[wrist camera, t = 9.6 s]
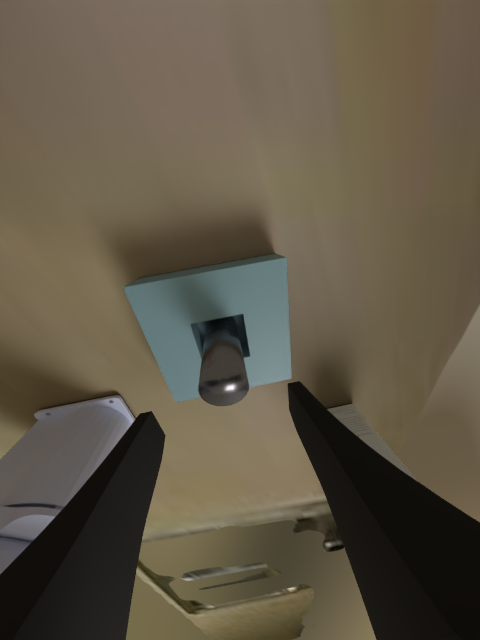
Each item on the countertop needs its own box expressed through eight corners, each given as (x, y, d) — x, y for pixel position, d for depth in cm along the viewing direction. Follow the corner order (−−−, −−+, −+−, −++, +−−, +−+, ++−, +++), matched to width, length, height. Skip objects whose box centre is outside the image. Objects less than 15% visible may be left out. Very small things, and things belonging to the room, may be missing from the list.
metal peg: (211, 342, 19) (208, 411, 11) (201, 317, 17) (190, 377, 10) (239, 334, 19) (254, 398, 11) (231, 308, 17) (241, 362, 10)
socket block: (181, 380, 21) (175, 402, 18) (139, 278, 16) (122, 287, 13) (282, 360, 21) (291, 378, 19) (274, 253, 16) (286, 257, 13)
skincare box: (312, 428, 28) (372, 554, 17) (312, 408, 26) (382, 537, 15) (351, 420, 28) (435, 540, 17) (354, 400, 26) (453, 521, 15)
